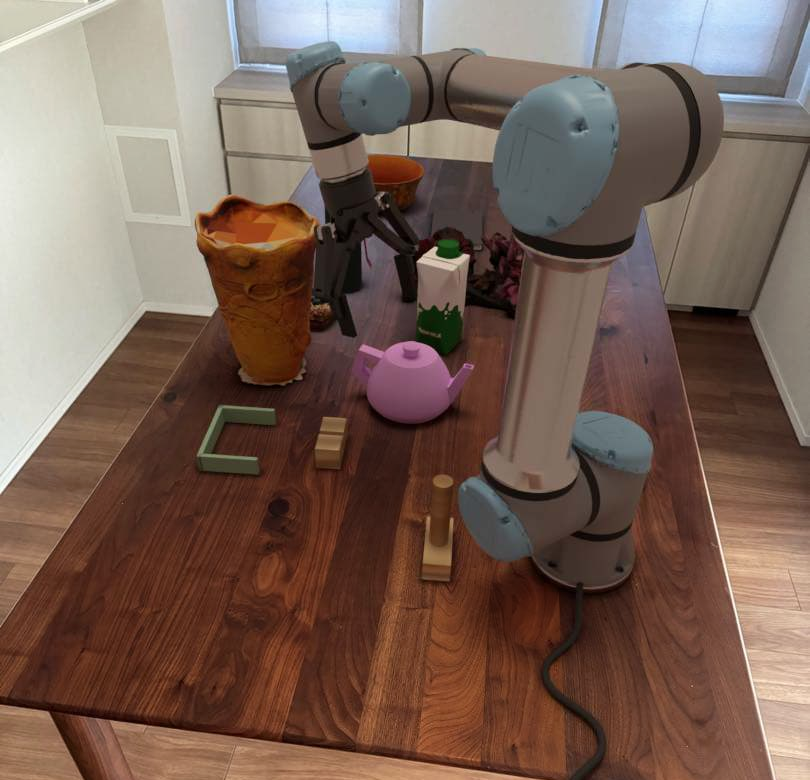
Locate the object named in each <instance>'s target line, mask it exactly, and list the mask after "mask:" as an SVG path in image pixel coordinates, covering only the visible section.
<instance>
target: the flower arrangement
mask: <svg viewBox="0 0 810 780" xmlns="http://www.w3.org/2000/svg"><path fill="white" fill-rule="evenodd" d="M443 239H452V240H456V241H458V242H459V252H461V253H464V254H467V255H470V258H469V266H468V273H467V282H466V294H465V304H474V305H478V306H484V307H488V308H494V309H500V310H505V311H508V312H509V313H510V314H511V316H512V317H513V318H514V319H515V314H516V307H517V300H518V293H519V286H520V279H521V271H522V264H523V257H524V250H523V248H522V247H521V246H520V245H519V244H518V243H517V242H516V240H515V239H514V238H513V236H512V233H511V234H510V239H509V240H508V239H507V237H506V236H504V235H503V234H501V233H499V232H498V231H497V232H495V233H493V234H492V237H490V238H487V237H485V236H483V235H482V236H481V240H482V241H483V245H484V246H485V248H487V250H488V251H489V255H490V256H489V259H488V261H489V263H490V265H491V266H493V267H492V270H490V269H489V268H488V267H487V268H485V271H484V272H483V274H475V264H476V263H477V258H476V257H475V252H474V251H473V250H472V249H471V244H472V241H471V239H470V238H469V239H465V237H464V235H463V233H462V232H461V231H458V230H456V229H455V228H452V227H448V226H446V227H445V228H443V229H441V230H439V229H438V231H436V232H435V233H434V235H432V237H431V236H430V237H429V236H428V237H427V238H423V239H419V244H418V250H416V253H415V254H414V255H412V259H413V263H414V268H415V273H413V276H414V280H415V284H416V289H417V293H418V271H417V263H416V262H417V261H418V260H419V259H420V258H422V256H423V255H424V254H426V253H427V252H428V251H430V250H431V249H432V248H433V247H438V242H439V241H440V240H443ZM415 299H416V298H411V297H405V296H403V293H402V292H401V302H405V303H412V302H414V301H415Z"/></svg>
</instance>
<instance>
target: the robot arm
mask: <svg viewBox="0 0 810 780" xmlns="http://www.w3.org/2000/svg"><path fill="white" fill-rule="evenodd" d="M285 68H286V73H287V78H288V82H289V90H290V92H291V94H292V97H293V101H294V104H295V107H296V111H297V114H298V117H299V121H300V124H301V127H302V131H303V134H304V138H305V141H306V144H307V147H308V151H309V155H310V160H311V163H312V165H313V169H314V173H315V176H316V178H317V179H319V183H318V187H319V191H320V195H321V198H322V202H323V206H324V205H325V206H324V208H325V207H326V209H327V210H328V212H329V214H330V223H328V224H325V223H324V224H320V225H315V227H314V234H315V239H316V249H315V255H314V277H313V287H314V290H313V295H314V297H315V298H320V299H325V300H328V303H329V306H330V309H331V313H332V316H333V317H334V318H336V319H337V322H338V326H339V329H340V331H341V336H345V337H349V338H352V339H354V338H356V337H358V333H357V332H358V331H357V329H356V325H355V323H354V319H353V315H352V312H351V307H350V306H349V305H350V304H349V301H348V299H347V295H346V294H341V291H342V287H343V283H344V279H345V275H346V271H347V267H348V263H349V259H350V255H351V252H353V251H354V249H355V245H356V244H359V243H361V244H362V242H364V239H370V238H371V237H373V235H374V236H375V237H377V238H378V239H379V240H380V241H381V242H383V243H384V244H386V245H387V246H388V247H390V248H391V249H392V250H393V251H395V252H396V253H398V254H396V255H394V256H393V260H394V265H395V268H396V273H397V277H398V281H399V284H400V289H401V294H402V293H403V296H405V297H411V298H415V299H417V298H418V293H417V289H416V284H415V280H414V276H413V273H415V268H414V263H413V259H412V255H414V254H415V253H416V251H417V248H416V247H415V246H419V240H420V238H419V237H418V235H417V234H416V232H415V231H414V229H413V228H412V226H411V225H410V223H409V222H408V221H407V219H406V217H404V215H403V214H402V211H401V210H399V209H398V208H397V207H396V205H395V202H394V199H393V195H392V193H391V192H379V191H378V192H377V193H376V190H375V186H374V182H373V178H372V174H371V170H370V169H369V168H367V167H366V166H367V165H368V163H369V161H368V157H367V155H368V153H367V149H366V145H365V141H364V137H363V135H365V136H369V137H370V136H371V137H375V136H376V135H388V134H392V133H394V132H395V131H397V129H399V128H402V127H408V126H412V125H417V124H423V123H427V122H435V121H440V120H450V121H453V122H458V123H461V124H462V123H464V124H469V125H473V126H478V127H482V128H487V129H491V130H495V131H499V132H498V134H497V137H496V141H495V145H494V150H493V157H492V185H493V189H494V190H495V191H499V194H498V197H497V199H496V202H497V205H498V207H499V209H500V211H501V213H502V215H503V216H504V218H505V220H506V221H507V222H508V223H509V224H510V225H511V234H512V236H513V238H514V239H515V240H516V242H517V243H518V244H519V245H520V246H521V247H522V248H523V250H524V257H523V264H522V271H521V279H520V286H519V293H518V300H517V307H516V314H515V318H514V322H513V329H512V336H511V343H510V350H509V357H508V364H507V371H506V376H505V385H504V393H503V399H502V407H501V413H500V419H499V420H500V422H499V427H498V433H497V435H496V436H494V437H493V438H491V439H490V440H489V441H488V442H487V444H486V445H485V446H484V448H483V452H482V456H481V457H482V458H481V464H480V471H479V474H478V475H475V476H470V477H468V478H467V479H466V480H465V481H464V482H462V483H461V484H460V485H459V488H458V491H457V505H458V509H459V512H460V515H461V519H462V521H463V523H464V525H465V527H466V529H467V531H468V532H469V534H470V537H472V539H473V540H474V542H475V543H476V544H477V546H479V548H480V549H481V550H482V551H483V552H484V553H485V554H487V555H488V556H489V557H490V558H492V559H494V560H496V561H498V562H501V563H512V562H513V563H514V562H516V561H518V560H520V559H523V558H529V562H530V564H531V566H532V567H533V568H534V570H535V572H537V574H538V575H539V576H540V577H542V578H543V579H544V580H545V581H546V582H548V583H549V584H551V585H552V586H555V587H557V588H559V589H562V590H564V591H567V592H571V593H575V601H574V624H573V629H572V631H571V632H570V635H569V636H568V638H567V639H566V640H565V641H563V642H562V643H561V644H560V645H559V646H557V647H556V648H555V649H554V650H552V651H551V652H550V653H549V654H548V655H547V656H546V658H545V659H544V661H543V662H542V666H541V678H542V682H543V684H544V686H545V689H546V690H547V691H548V692H549V693H550V694H551V695H552V697H554V698H555V699H556V700H558V701H559V702H560V703H562V705H565V706H566V707H567V708H569V709H570V710H572V711H573V712H575V713H576V714H577V715H579V716H580V717H581V718H583V719H584V720H585V721H586V722H587V723H588V724H589V725H590V726H591V727H592V728H593V731H594V732H595V734H596V738H597V749H596V751H595V753H594V755H592V757H591V758H589V760H587V761H586V762H585V763H584V764H583V765H581V767H579V768H578V769H577V770H576V771H575V772H574V773H573V774H572V776H571V777H570V778H569V780H582V779H583V778H584V777H585V776H586V775H587V774H589V772H591V771H592V770H593V769H594V768H595V767H596V766H598V764H599V763H600V762H601V761H602V759H603V758H604V757H605V754H606V750H607V737H606V733H605V729H604V728H603V727H602V725H601V723H600V722H599V721H598V720H597V719H596V717H594V716H593V714H591V712H589V711H588V710H586V709H585V708H584V707H582V706H581V705H579V704H578V703H576V702H575V701H573V700H572V699H570V698H569V697H568V696H566V695H565V694H564V693H562V692H561V690H559V689H558V688H557V687H556V686H555V685H554V683H553V682H552V680H551V675H550V667H551V665H552V663H553V662H554V661H555V660H556V659H557V658H558V657H560V656H561V655H562V654H563V653H565V652H566V651H567V650H568V649H569V648H571V647H572V646H573V644H574V643H575V642H576V640H577V639H578V637H579V635H580V633H581V630H582V623H583V622H582V621H583V619H582V618H583V617H582V615H583V614H582V613H583V611H582V610H583V609H582V606H583V596H584V595H598V594H604V593H608V592H611V591H614V590H616V589H618V588H619V587H621V586H622V585H624V584H625V583H626V581H628V579H629V578H630V576H631V574H632V571H633V569H634V565H635V560H636V549H635V542H634V535H633V523H634V519H635V516H636V513H637V510H638V507H639V504H640V501H641V497H642V494H643V491H644V488H645V484H646V481H647V479H648V474H649V472H650V471H651V469H652V460H653V454H654V445H653V440H652V439H651V437H650V434H649V433H648V432H647V431H646V430H645V429H644V428H642V427H641V426H640V425H639V424H638V423H636V422H634V421H632V420H630V418H629V419H628V418H626V417H623V416H621V415H618V414H616V413H611V412H606V411H601V410H588V411H582V412H580V409H581V404H582V399H583V395H584V391H585V387H586V383H587V382H586V381H587V377H588V373H589V368H590V365H591V359H592V355H593V350H594V346H595V342H596V337H597V333H598V328H599V324H600V319H601V316H602V315H601V314H602V310H603V305H604V302H605V298H606V292H607V288H608V284H609V279H610V276H611V270H612V266H613V263H614V262H616V261H618V259H620V258H622V257H623V256H625V255H626V254H628V253H629V252H630V251H631V250H632V249H633V246H634V243H635V238H636V235H637V231H638V227H639V222H640V218H641V213H642V210H643V208H644V207H646V206H650V205H653V204H657V203H660V202H663V201H666V200H669V199H672V198H674V197H676V196H678V195H680V194H682V193H684V192H685V191H687V190H688V189H690V188H691V187H692V186H694V185H695V184H696V183H697V182H698V181H699V180H700V179H701V178H702V177H703V176H704V175H705V174H706V172H707V171H708V169H709V168H710V167H711V165H712V163H713V162H714V160H715V159H716V157H717V154H718V151H719V149H720V146H721V143H722V139H723V135H724V129H725V128H724V127H725V113H724V106H723V103H722V99H721V96H720V94H719V92H718V90H717V88H716V86H715V84H714V83H713V82H712V81H711V80H710V79H709V77H708V76H707V75H705V73H704V72H702V71H701V70H700V69H698V68H696V67H694V66H692V65H688V64H685V63H681V62H673V61H671V62H655V63H647V62H630V63H627V64H624V65H623V66H621V67H620V68H618V69H616V70H604V69H596V68H589V67H580V66H573V65H563V64H557V63H547V62H542V61H541V62H539V61H532V60H523V59H516V58H509V57H500V56H491V55H487V54H486V53H485V51H484V50H483V49H480V48H477V47H469V48H467V47H455V48H452V49H449V50H445V51H444V50H443V51H438V52H437V51H436V52H431V53H424V54H418V55H409V56H408V55H407V56H401V57H393V58H385V59H379V60H378V59H377V60H370V61H365V62H351V63H347V62H346V58H345V57H344V54H343V52H342V48H341V46H340V45H339V44H338V43H337V42H336V41H333V40H330V41H329V40H328V41H323V42H318V43H315V44H314V43H313V44H311V45H306V46H304V47H301V48H299V49H297V50H294V51H292V52H290V53H289V54H288V55H287V57H286V59H285ZM375 194H376V195H375ZM374 196H375V198H374ZM378 210H380V211H381V212H380V213H382V216H383V217H384V218H385V219H386V221H387V222H388V224H389V225H390V227H391V228H392V229H393V231H392V230H391V229H390V228H389V227H387V224H386V223H385V222H383V221H382V220H381V219H379V218H378V216H379V212H378ZM334 232H335V233H336V235H334ZM334 238H335V239H334ZM333 239H334V243H333ZM343 240H344V241H345V242H346V244H344V243H342V242H343ZM333 247H334V252H333Z"/></svg>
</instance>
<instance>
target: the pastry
mask: <svg viewBox="0 0 810 780" xmlns="http://www.w3.org/2000/svg"><path fill="white" fill-rule="evenodd" d="M313 290H314V286H312V297H311V309H310V332H324V331H326V330H328V329H329V328H330V327H331V326H332V325H333V324H334V323H335V322H336V321H338V319H336V318H334V317H333V316H332V313H331V309H330V306H329V303H328V300H325V299H320V298H315V297H314V295H313Z"/></svg>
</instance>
